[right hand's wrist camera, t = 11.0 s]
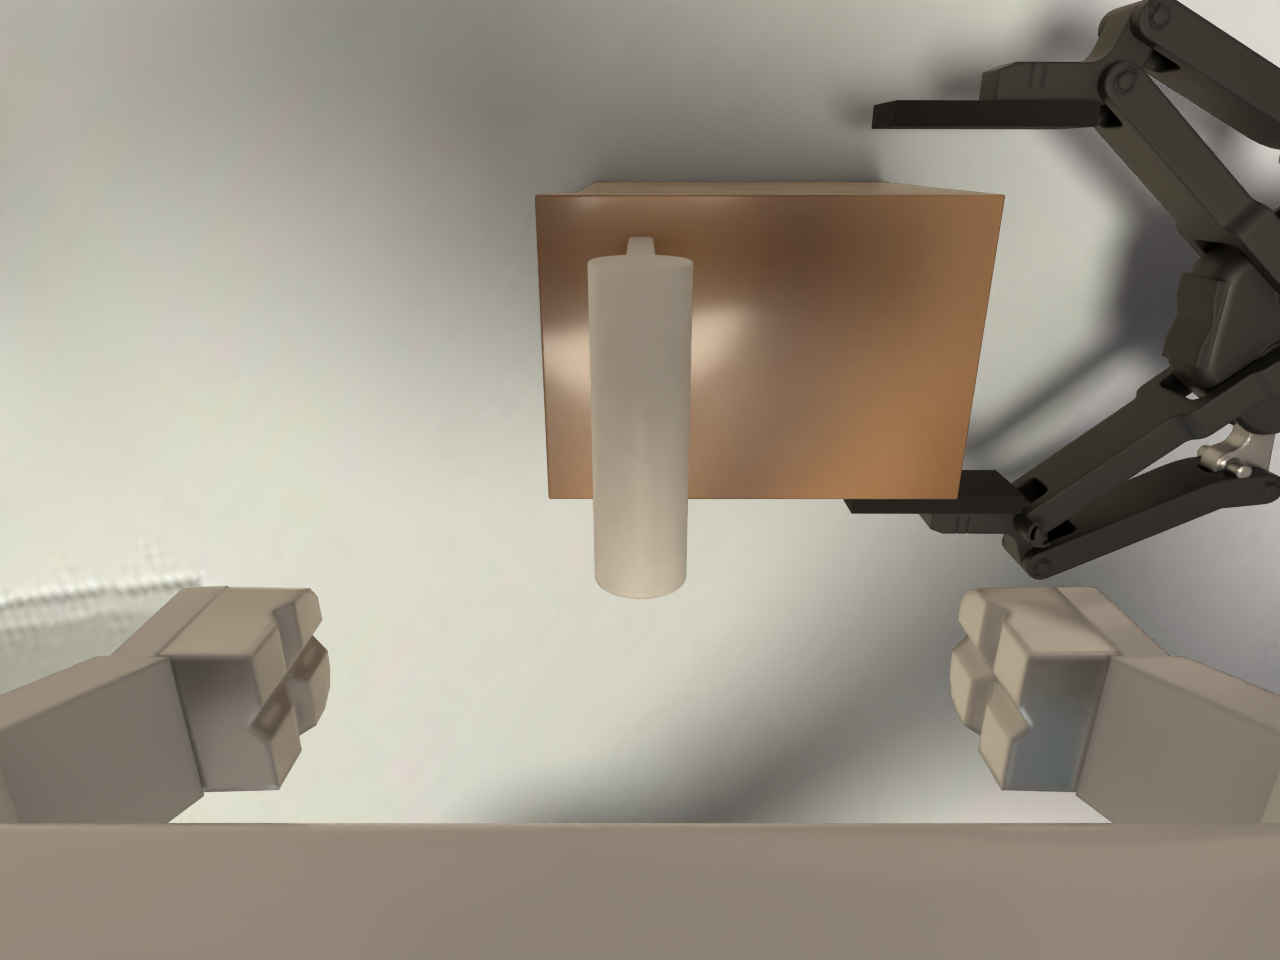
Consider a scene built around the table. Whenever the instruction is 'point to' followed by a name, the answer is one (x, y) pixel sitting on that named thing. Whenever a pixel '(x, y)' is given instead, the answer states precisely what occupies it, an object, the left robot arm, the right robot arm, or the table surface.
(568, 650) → the table surface
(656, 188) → the chest
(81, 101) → the table surface
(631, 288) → the lid
